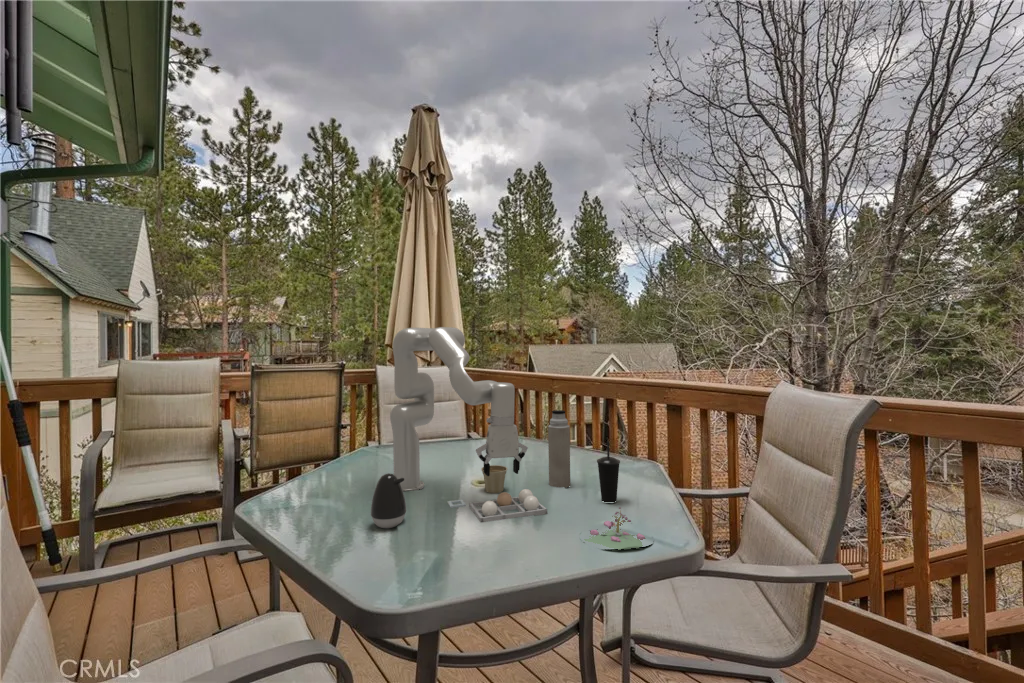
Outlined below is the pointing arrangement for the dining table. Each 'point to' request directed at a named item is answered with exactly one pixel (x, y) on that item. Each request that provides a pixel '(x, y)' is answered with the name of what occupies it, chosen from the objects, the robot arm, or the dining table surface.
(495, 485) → the flower pot
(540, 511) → the carton
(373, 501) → the penguin figurine
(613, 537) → the plant
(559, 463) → the thermos bottle
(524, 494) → the white egg
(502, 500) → the brown egg
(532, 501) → the white egg
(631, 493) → the dining table surface
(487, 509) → the white egg
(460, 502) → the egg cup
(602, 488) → the drinking cup
